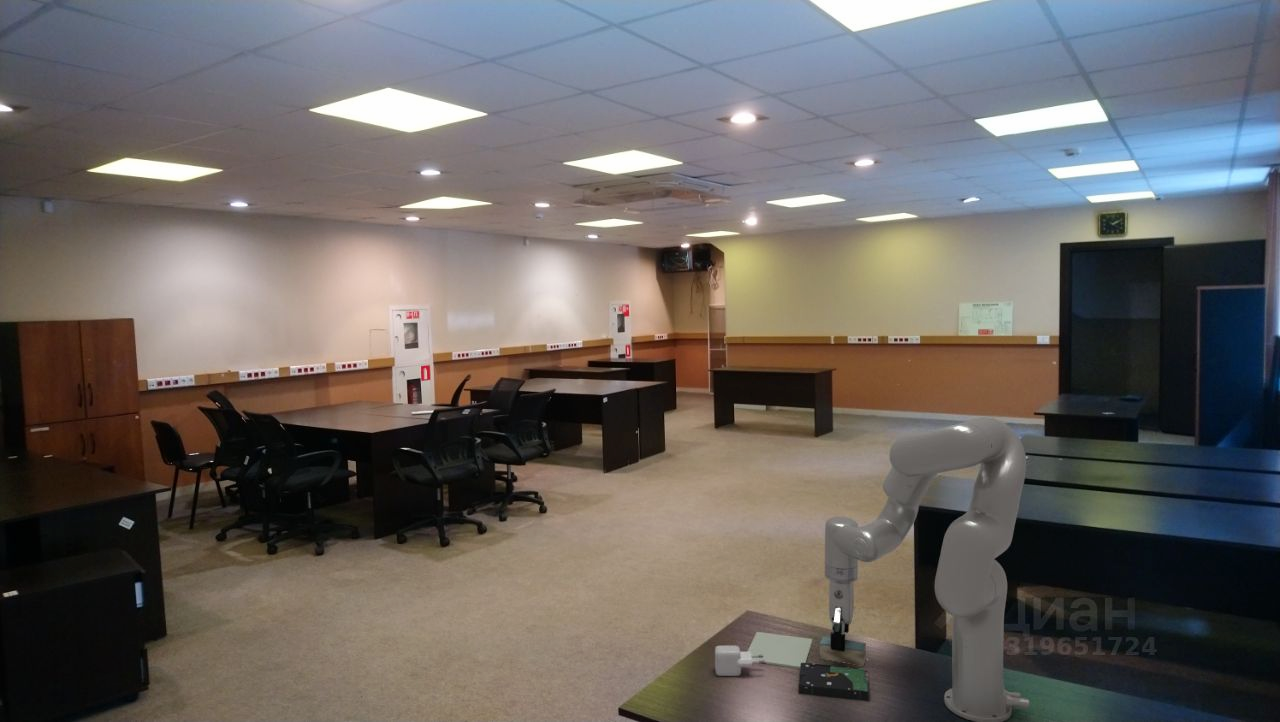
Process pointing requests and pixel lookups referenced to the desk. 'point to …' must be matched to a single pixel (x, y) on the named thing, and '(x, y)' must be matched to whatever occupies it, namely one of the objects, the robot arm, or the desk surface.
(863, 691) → the disk drive
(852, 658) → the teal-faced wooden block
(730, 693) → the desk surface
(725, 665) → the power adapter
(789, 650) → the mat
